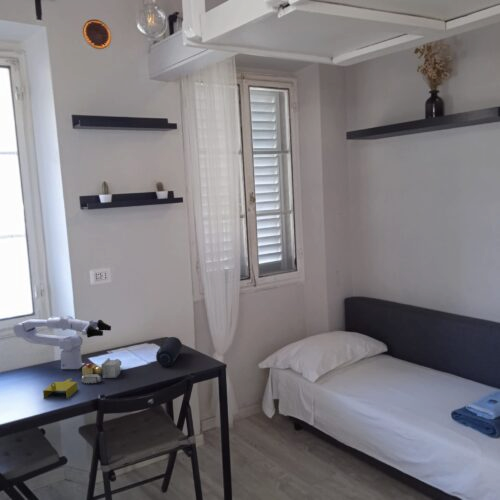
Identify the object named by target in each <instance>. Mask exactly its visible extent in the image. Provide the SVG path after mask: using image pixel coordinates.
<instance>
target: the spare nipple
mask: <svg viewBox="0 0 500 500" xmlns="http://www.w3.org/2000/svg"><path fill="white" fill-rule="evenodd" d="M101 381H102V375H100V374H86V375H85V376H83V375H82V376H81V383H83V384H84V385H86V384H87V383H88V384H87V385H90V384H89V383H92V384H93V383H97V384H98V383H101ZM85 383H86V384H85Z"/></svg>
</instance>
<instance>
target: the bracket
mask: <svg viewBox="0 0 500 500" xmlns="http://www.w3.org/2000/svg"><path fill="white" fill-rule="evenodd" d="M78 389H79V388H78V382H77V381H72V378H66V380H65V381H54V382H51V383H50V385H49V386H48V387H46V388H45V389H44V390H42V392H43V399H46V398H47V397H48V396H49V395H51V394H52V393H53V392H57V391H58V392H60V391H62V392H63V391H65V395H66V399H69V398H70V397H71V396H72V395H74V393H76V392H78Z"/></svg>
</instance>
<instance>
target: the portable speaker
mask: <svg viewBox="0 0 500 500" xmlns="http://www.w3.org/2000/svg"><path fill="white" fill-rule="evenodd" d="M182 346H183V345H182V341H181V340H180V339H179V338H178V337H177V336H169V337H167V338H166V339H164V341H163V342H162V344H161V345H160V347H159V348H158V350H157V352H156V353H155V354H156V355H155V359H156V361H157V363H158V364H159V365H160V366H161V367H165V368H166V367H170V366H172V365H173V364H174V363H175V362H176V360H177V358H178V356H179V354H180V353H181V352H182V348H183V347H182Z"/></svg>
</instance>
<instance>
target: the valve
mask: <svg viewBox="0 0 500 500" xmlns="http://www.w3.org/2000/svg"><path fill="white" fill-rule="evenodd" d="M81 371H82V376H85V375H86V374H99V375H102V366H97V364H93V362H88V363H85V364H84V365H83V366H82V367H81Z"/></svg>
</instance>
